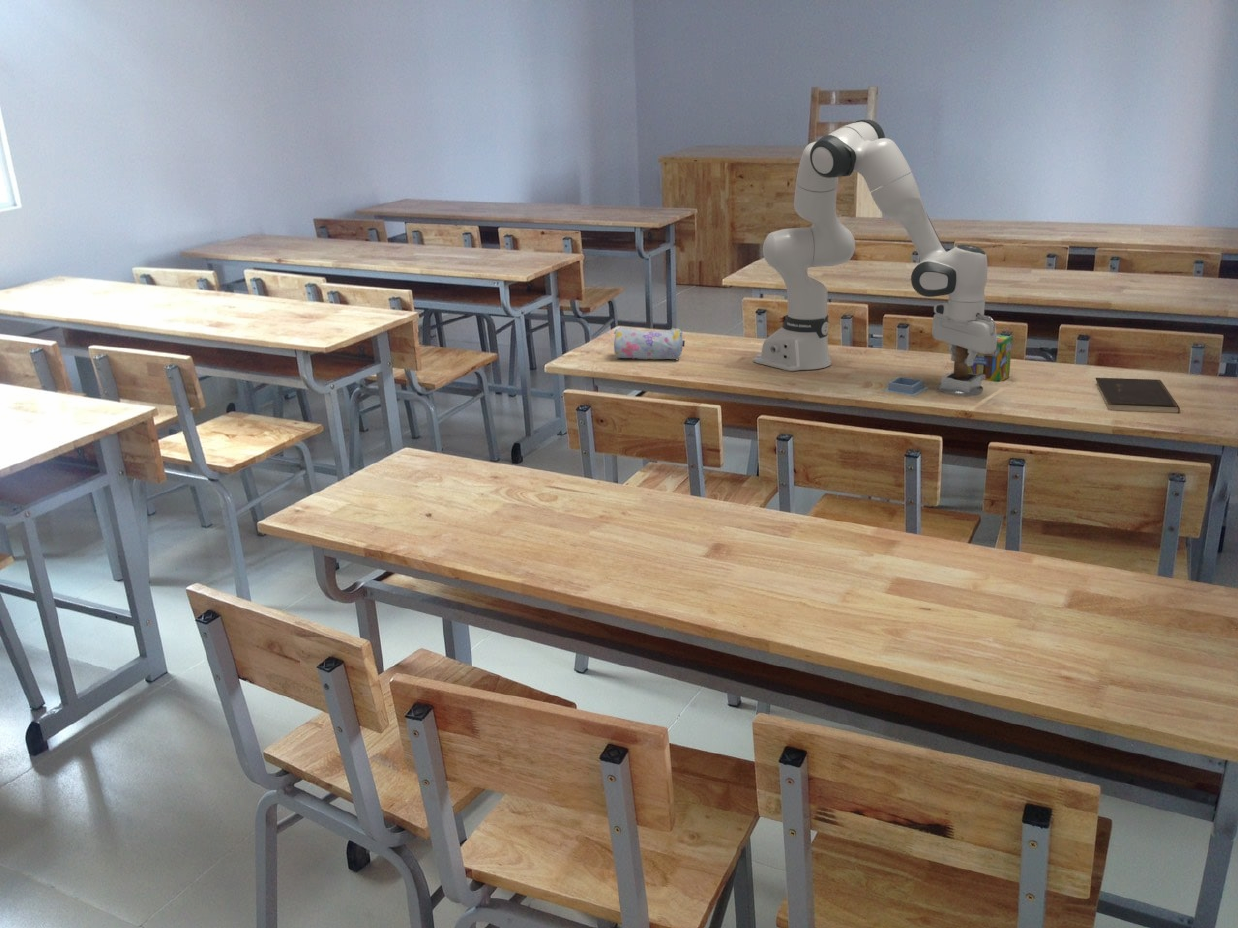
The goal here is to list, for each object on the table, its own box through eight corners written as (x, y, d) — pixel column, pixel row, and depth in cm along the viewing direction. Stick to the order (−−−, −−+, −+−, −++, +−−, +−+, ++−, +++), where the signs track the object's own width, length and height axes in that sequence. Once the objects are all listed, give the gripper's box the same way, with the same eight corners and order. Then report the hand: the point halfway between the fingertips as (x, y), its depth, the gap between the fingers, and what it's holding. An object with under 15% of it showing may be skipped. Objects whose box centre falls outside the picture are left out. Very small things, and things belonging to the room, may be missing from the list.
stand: (881, 394, 283) (882, 383, 282) (897, 385, 290) (897, 374, 289) (914, 399, 278) (914, 388, 277) (929, 390, 284) (929, 379, 283)
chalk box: (998, 385, 286) (1003, 331, 281) (964, 380, 292) (969, 327, 287) (1010, 377, 293) (1015, 323, 288) (977, 372, 299) (981, 320, 293)
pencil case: (685, 355, 327) (684, 325, 324) (681, 363, 319) (681, 332, 316) (617, 355, 331) (616, 324, 328) (612, 362, 323) (610, 331, 320)
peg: (951, 377, 279) (953, 346, 276) (955, 374, 282) (957, 342, 279) (966, 379, 277) (968, 347, 274) (969, 375, 280) (971, 344, 277)
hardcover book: (1107, 412, 264) (1108, 403, 264) (1094, 385, 285) (1095, 377, 284) (1179, 415, 260) (1180, 406, 259) (1160, 388, 281) (1162, 379, 280)
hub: (931, 394, 281) (932, 378, 279) (948, 384, 289) (950, 368, 287) (972, 401, 274) (974, 384, 273) (989, 391, 282) (990, 374, 281)
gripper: (1005, 316, 266) (1000, 370, 271) (948, 301, 283) (945, 353, 288) (985, 319, 263) (980, 374, 268) (929, 304, 281) (926, 356, 286)
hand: (961, 363), depth 278 cm, fingers closed on peg, 4 cm apart
